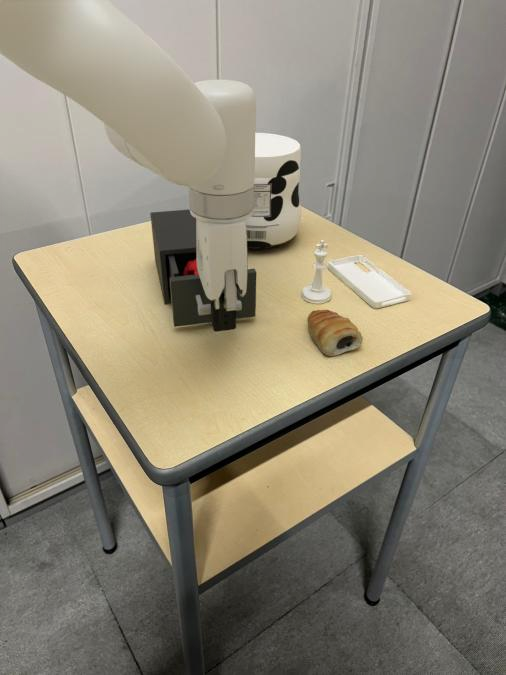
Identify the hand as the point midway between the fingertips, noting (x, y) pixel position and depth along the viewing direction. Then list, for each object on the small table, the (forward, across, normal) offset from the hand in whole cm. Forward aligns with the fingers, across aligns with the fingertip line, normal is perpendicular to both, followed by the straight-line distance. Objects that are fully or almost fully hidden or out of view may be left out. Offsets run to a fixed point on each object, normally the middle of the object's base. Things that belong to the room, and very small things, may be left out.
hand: (223, 327), depth 71 cm
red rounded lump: (+2, -13, 0) cm, 13 cm away
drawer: (+3, -11, 0) cm, 11 cm away
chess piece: (+4, -11, +18) cm, 22 cm away
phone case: (+4, -13, +28) cm, 31 cm away
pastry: (+4, +1, +16) cm, 17 cm away
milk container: (+4, -35, +14) cm, 38 cm away
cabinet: (+4, -21, 0) cm, 22 cm away
